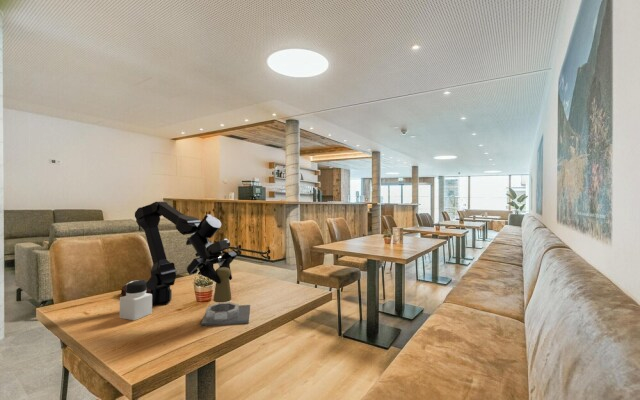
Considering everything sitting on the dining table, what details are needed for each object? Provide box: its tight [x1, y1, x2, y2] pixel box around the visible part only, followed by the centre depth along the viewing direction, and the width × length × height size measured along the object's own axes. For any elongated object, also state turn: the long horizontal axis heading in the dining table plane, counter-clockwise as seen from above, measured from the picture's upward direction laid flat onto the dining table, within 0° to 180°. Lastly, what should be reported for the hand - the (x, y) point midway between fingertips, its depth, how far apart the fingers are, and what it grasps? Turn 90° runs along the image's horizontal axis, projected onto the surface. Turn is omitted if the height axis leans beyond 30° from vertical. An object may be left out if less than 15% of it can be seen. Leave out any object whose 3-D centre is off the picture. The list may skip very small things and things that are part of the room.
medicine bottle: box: [119, 279, 153, 322], centre depth 106 cm, size 7×7×12 cm
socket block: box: [200, 301, 251, 327], centre depth 106 cm, size 15×15×4 cm
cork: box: [212, 267, 232, 303], centre depth 105 cm, size 6×6×11 cm
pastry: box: [120, 279, 151, 297], centre depth 131 cm, size 11×12×6 cm
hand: (225, 281), depth 104 cm, fingers closed on cork, 5 cm apart
